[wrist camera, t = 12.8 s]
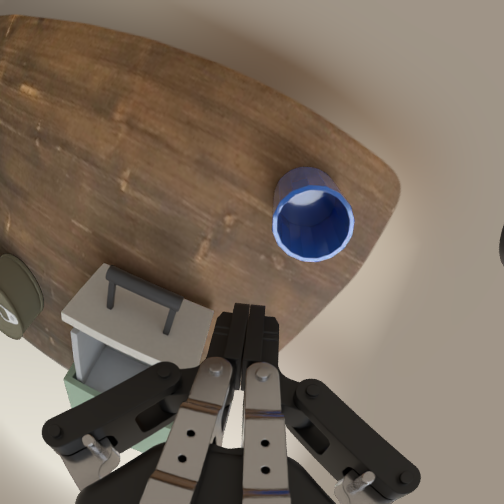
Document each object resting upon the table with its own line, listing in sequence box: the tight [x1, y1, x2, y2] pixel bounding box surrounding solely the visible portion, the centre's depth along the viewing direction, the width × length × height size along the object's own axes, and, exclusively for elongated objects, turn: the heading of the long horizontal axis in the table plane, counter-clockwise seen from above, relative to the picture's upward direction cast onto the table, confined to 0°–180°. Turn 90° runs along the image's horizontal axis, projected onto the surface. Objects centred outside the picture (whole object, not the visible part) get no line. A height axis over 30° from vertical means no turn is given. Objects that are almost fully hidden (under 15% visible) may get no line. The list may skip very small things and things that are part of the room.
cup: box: [272, 167, 355, 262], centre depth 22 cm, size 6×6×6 cm
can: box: [0, 254, 44, 340], centre depth 31 cm, size 12×12×7 cm
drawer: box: [61, 263, 214, 393], centre depth 28 cm, size 20×14×9 cm
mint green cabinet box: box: [64, 363, 174, 453], centre depth 35 cm, size 16×15×11 cm
